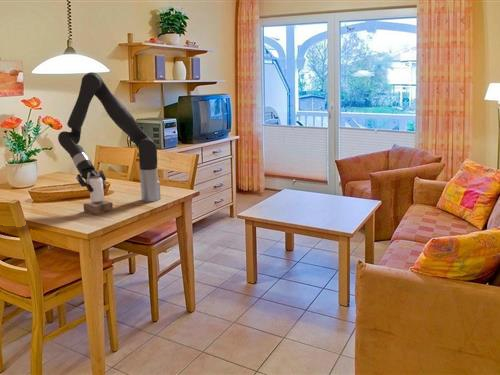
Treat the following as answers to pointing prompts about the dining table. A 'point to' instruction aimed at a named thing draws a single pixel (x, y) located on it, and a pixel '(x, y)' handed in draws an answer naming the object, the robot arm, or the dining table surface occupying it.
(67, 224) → the dining table surface
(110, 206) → the pedestal
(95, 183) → the can
